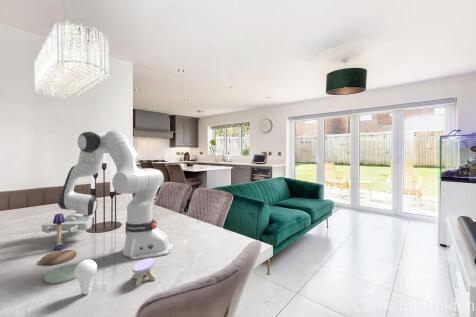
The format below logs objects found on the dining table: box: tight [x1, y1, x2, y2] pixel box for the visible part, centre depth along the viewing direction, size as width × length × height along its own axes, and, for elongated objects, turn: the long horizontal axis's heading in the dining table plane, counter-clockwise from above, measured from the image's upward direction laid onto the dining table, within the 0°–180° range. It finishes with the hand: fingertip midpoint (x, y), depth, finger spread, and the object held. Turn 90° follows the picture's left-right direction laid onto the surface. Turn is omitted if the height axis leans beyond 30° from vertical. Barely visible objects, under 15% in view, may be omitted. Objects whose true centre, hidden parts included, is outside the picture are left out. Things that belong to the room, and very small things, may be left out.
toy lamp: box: [52, 213, 66, 252], centre depth 106 cm, size 5×5×17 cm
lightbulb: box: [74, 259, 98, 295], centre depth 72 cm, size 6×6×11 cm
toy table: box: [131, 257, 157, 287], centre depth 81 cm, size 10×9×6 cm
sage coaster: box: [44, 263, 79, 285], centre depth 83 cm, size 12×12×1 cm
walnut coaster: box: [40, 249, 77, 266], centre depth 96 cm, size 12×12×1 cm
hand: (58, 230), depth 105 cm, fingers open, 8 cm apart
